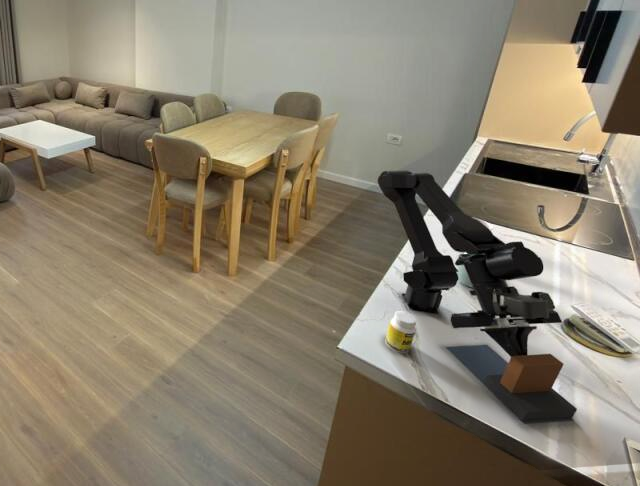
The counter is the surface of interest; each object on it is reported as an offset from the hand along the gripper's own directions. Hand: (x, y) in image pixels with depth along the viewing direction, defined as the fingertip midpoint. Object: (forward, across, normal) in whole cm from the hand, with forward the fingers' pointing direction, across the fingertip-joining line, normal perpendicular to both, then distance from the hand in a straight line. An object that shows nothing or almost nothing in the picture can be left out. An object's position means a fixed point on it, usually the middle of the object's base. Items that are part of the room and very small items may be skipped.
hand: (523, 365), depth 77 cm
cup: (-18, +21, +28) cm, 39 cm away
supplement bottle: (-4, -15, +14) cm, 21 cm away
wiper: (+6, 0, +3) cm, 7 cm away
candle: (-34, +40, +43) cm, 68 cm away
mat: (+3, 0, +6) cm, 7 cm away
